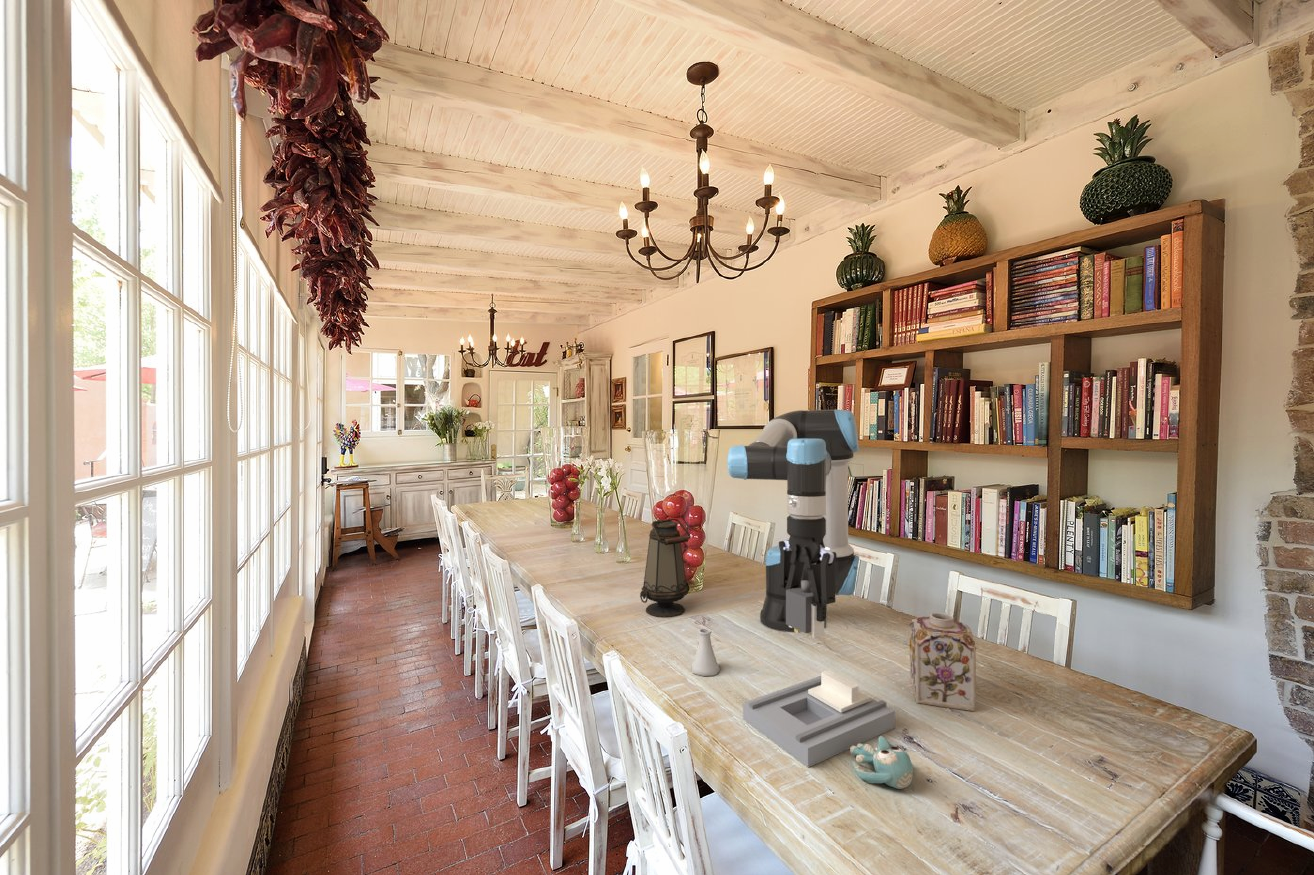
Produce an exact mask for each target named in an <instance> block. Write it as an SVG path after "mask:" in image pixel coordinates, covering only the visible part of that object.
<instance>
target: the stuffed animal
mask: <svg viewBox="0 0 1314 875" xmlns="http://www.w3.org/2000/svg"><path fill="white" fill-rule="evenodd" d="M849 752H850V755H851V754H852V755H853V756H856V757H855V760H854V759H853V760H852V761H851V764H852V765H851V766H852V769H853V771H854V772H855V774H856V775H857V776H858V777H859V779H861V780H863V781H865V782H867V783H868V784H886V785H887V786H889V787H890V788H894V789H898V790H901V789H902V790H903V789H905V788H907V787H908V786H910V784H911V783H912V781H913V777H914V766H913V763H912V761H911V760H912V759H911V757H910V755H909V754H908V752H906V751H905V750H903V749H901V747H898V746H895V745H893V744H891V743H890V741H888V740H887V738H886V737H884V736H882V735H879V736H878V746H877V747H875V748H874V747H873V746H872V745H871V744H868V743H861V744H860V743H859V744H858V745H856V746H851V747H850V749H849ZM863 764H869V765H873V768H874V770H872V769H870V768H868V767H866V766H864V765H863Z"/></svg>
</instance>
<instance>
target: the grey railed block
mask: <svg viewBox="0 0 1314 875" xmlns="http://www.w3.org/2000/svg"><path fill="white" fill-rule="evenodd" d="M820 685H821V675H819V676H817V677H814V678H813V677H812V678H810V679H807V680H805V681H802V682H799V683H795V684H793V685H790V686H787V687H785V688H781V689H779V690H776V691H772V692H771V693H767V694H764V695H762V696H759V697H756V698H752V699H751V700H748V701H744V702H743V703H742V720H744V721H745V722H746V723H748V724H749V726H751V727H753V728H754V729H755V730H757V731H758V732H759V733H760V734H762V735H763V736H765V737H766V738H767V739H769V740H770V741H771V742H773V743H774V744H775V745H777V746H778V747H780V748H781V749H782V750H783V751H785V752H786V753H788V754H789V755H790V756H792V757H793V758H794V759H796V760H797V761H799V763H801V764H802V765H804V766H805V767H806V768H810V767H813V766H814V765H816V764H819V763H822V762H823V761H825V760H828V759H830V758H832V757H834V756H837V755H838V754H841V753H843V752H845V751H847V750H850V747H851V746H857V745H858V744H859V743H860V744H864V743H865V742H867V741H869V740H871V739H874V738H875V737H877V736H878V737H879V736H881V735H882V734H884V733H886V732H889V731H891V730H893V729H895V728H896V727H895V726H896V725H895V724H896V722H895V721H896V710H894V709H893V708H891V707H889V706H887V702H886V701H885V700H882V699H881V700H879V701H878V700H875V699H873V698H872V697H871V701H869V702H867V703H864V704H862V705H859V706H857V707H854V708H852V709H849V710H847V711H844V712H842V713H841V712H839V711H837V710H836V709H834V708H832V707H830V706H829V705H827V704H825V703H824V702H822V701H820V700H819V699H817V698H815V697H813V696H812V695H810V694H808V690H809V689H811V688H814V687H817V686H820Z"/></svg>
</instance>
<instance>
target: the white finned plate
mask: <svg viewBox="0 0 1314 875" xmlns="http://www.w3.org/2000/svg"><path fill="white" fill-rule="evenodd" d="M820 676H821V685H820V686H817V687H814V688H811V689H809V690H808V694H810V695H812V696H813V697H815V698H817V699H819V700H820V701H822V702H824V703H825V704H827V705H829V706H830V707H832V708H834V709H836V710H837V711H839V712H841V713H842V712H844V711H847V710H849V709H852V708H854V707H857V706H859V705H862V704H864V703H867V702H869V701H871V698H872V696H871V695H869V694H868V693H866V692H864V691H861V690H859V685H858V684H856V683H854V682H852V681H850V680H848V679H846V678H844V677H842V676H840V675H838V674H837V673H834V672H832V671H830V670H828V669H827V670H825V671H822V672H821V674H820Z"/></svg>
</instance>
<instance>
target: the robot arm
mask: <svg viewBox="0 0 1314 875" xmlns="http://www.w3.org/2000/svg"><path fill="white" fill-rule="evenodd" d="M856 422H857V421H856V418H855V414H854V413H853V412H852V411H851V410H849V409H848V410H845V409H814V410H812V409H810V410H803V409H801V410H794V411H789V412H786V413H783V414H780V415H778V416H776V417H774V418H773V419H771V420H769V421H768V422H767V423H766V424H765V425H764V427H763V429H762V432H761V433H760V434H759V435H758V436H757V437H756V438H755V439H754V440H753V441H752V442H750V443H749V444H748V445H744V444H741V445H733V446H731V447H730V448H729V451H728V454H727V470H728V474H729V476H730V477H731V478H733V479H742V480H746V481H747V480H767V481H768V480H770V481H771V480H772V481H787V483H786V485H787V487H786V489H787V490H786V504H787V505H786V513H787V514H788V516H787V517H786V533H787V535H788V536H789V538H788V539H787V540H780V541H779V542H778V545H776V546H773V547H770V548H769V549H768V550H767V551H766V557H765V597H764V601H763V605H762V609H761V610H760V613H759V614H760V615H759V616H760V618H759V619H760V623H761V624H762V625H763V626H765V627H767V628H769V629H772V630H777V631H780V632H781V631H782V632H795V631H794V628H793V627H791V626H789V625H786V590H788V589H793V588H798V587H801V581H802V580H808V581H810V582H811V588H812V591H813V596H814V601H815V602H814V603H812V604H811V636H810V637H811V638H813V639H817V638H820V637H824V636H825V629H824V621H826V622H827V605H829V604H833V603H835V602H836V596H840V595H841V596H851V595H853V594H854V592H855V590H856V584H857V576H858V570H859V560H860V556H859V555H858V554H855V550H854V547H853V546H852V545H851V544H849V487H848V486H849V484H848V481H849V476H848V475H849V474H848V472H849V469H848V466H849V465H848V464H849V462H851V461H853V459H854V453H857V452H859V450H860V446H859V445H860V442H859V435H858V434H859V433H858V427H857V423H856ZM820 597H821V598H820Z"/></svg>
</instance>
